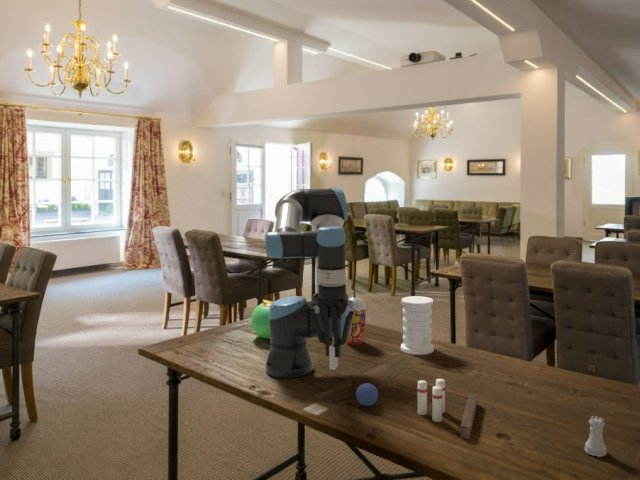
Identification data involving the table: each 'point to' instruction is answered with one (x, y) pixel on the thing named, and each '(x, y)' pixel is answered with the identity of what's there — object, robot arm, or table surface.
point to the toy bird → (262, 319)
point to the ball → (366, 394)
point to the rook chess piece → (596, 438)
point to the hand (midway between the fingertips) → (333, 367)
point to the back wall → (468, 416)
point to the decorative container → (417, 325)
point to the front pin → (422, 397)
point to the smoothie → (357, 322)
